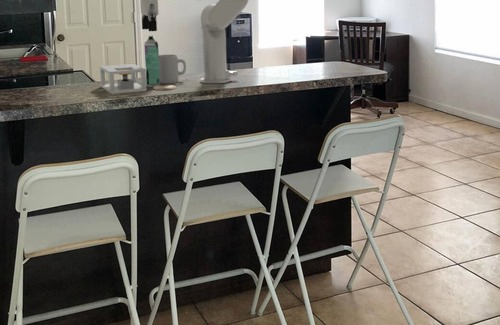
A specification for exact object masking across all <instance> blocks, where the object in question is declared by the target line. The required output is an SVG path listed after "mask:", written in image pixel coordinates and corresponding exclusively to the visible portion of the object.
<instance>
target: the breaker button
mask: <svg viewBox="0 0 500 325" xmlns="http://www.w3.org/2000/svg"><path fill="white" fill-rule="evenodd" d="M118 75H121V76H122V80H123V81H128V79H129V77H128V75H131V73H124V74H118Z"/></svg>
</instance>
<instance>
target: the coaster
mask: <svg viewBox="0 0 500 325" xmlns="http://www.w3.org/2000/svg"><path fill="white" fill-rule="evenodd" d="M176 88H177V86H176V85H172V84H163V85H162V84H160V85H159V86H154V87H152V89H153V90H154V89H155V90H154V91H171V90H175V89H176Z"/></svg>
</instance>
